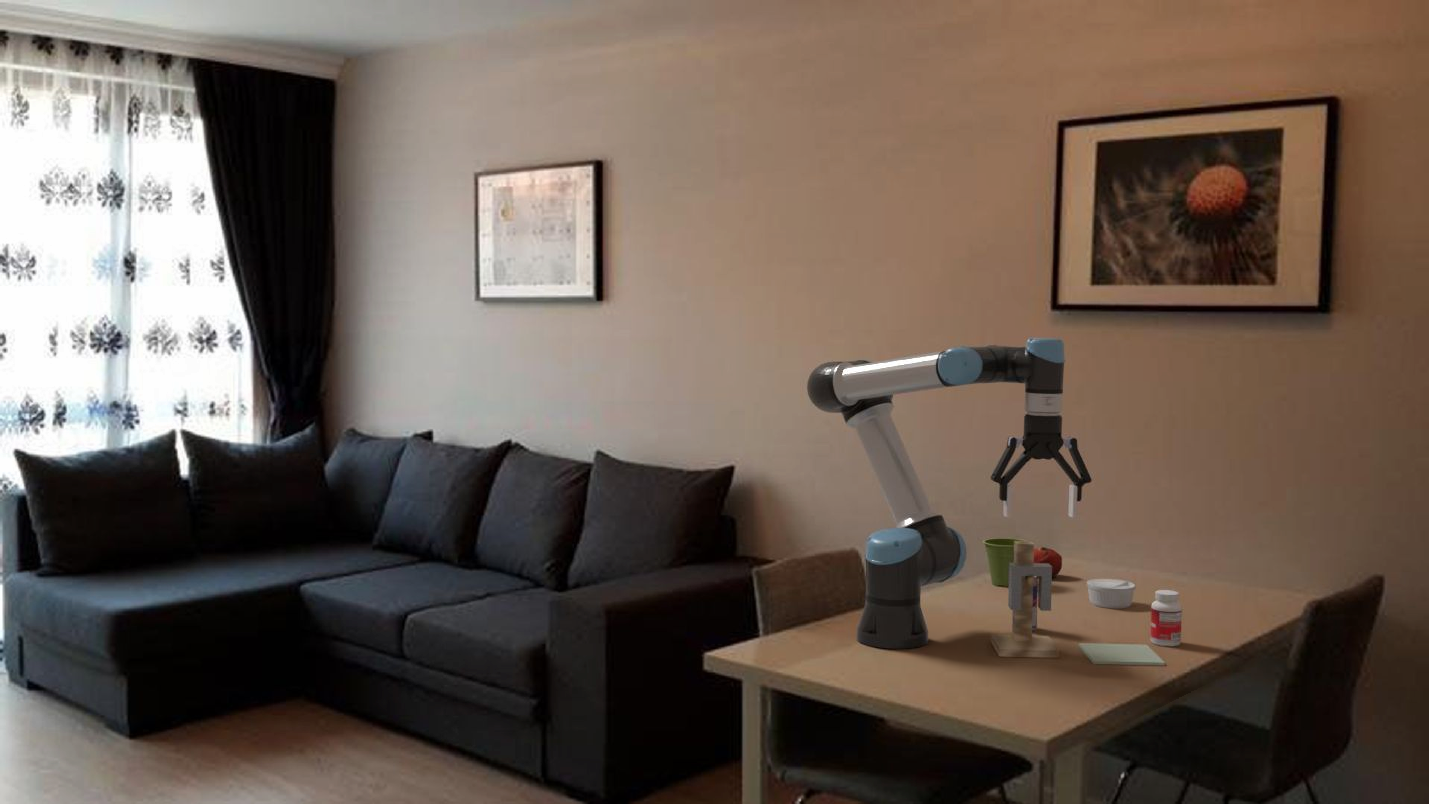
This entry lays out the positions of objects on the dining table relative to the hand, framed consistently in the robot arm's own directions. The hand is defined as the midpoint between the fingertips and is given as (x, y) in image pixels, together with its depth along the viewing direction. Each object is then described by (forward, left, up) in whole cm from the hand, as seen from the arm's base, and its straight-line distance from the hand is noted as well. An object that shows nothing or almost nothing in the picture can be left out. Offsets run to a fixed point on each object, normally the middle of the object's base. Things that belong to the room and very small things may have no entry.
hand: (1039, 517), depth 262 cm
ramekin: (+26, +47, -29) cm, 61 cm away
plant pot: (+4, +68, -29) cm, 74 cm away
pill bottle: (+29, +10, -29) cm, 42 cm away
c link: (-2, -3, -18) cm, 19 cm away
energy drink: (+1, +20, -29) cm, 35 cm away
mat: (+17, -1, -28) cm, 33 cm away
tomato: (+16, +79, -29) cm, 86 cm away
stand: (-2, +1, -28) cm, 28 cm away
